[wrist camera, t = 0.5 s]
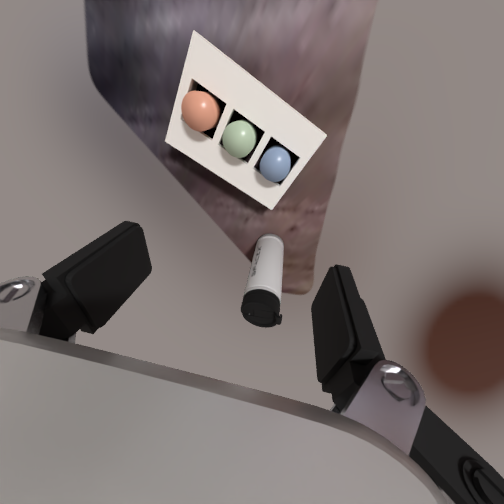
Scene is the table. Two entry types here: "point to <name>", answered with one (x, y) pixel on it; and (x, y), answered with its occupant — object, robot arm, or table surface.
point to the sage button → (239, 138)
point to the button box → (251, 107)
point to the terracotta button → (201, 110)
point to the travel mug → (264, 283)
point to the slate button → (275, 163)
